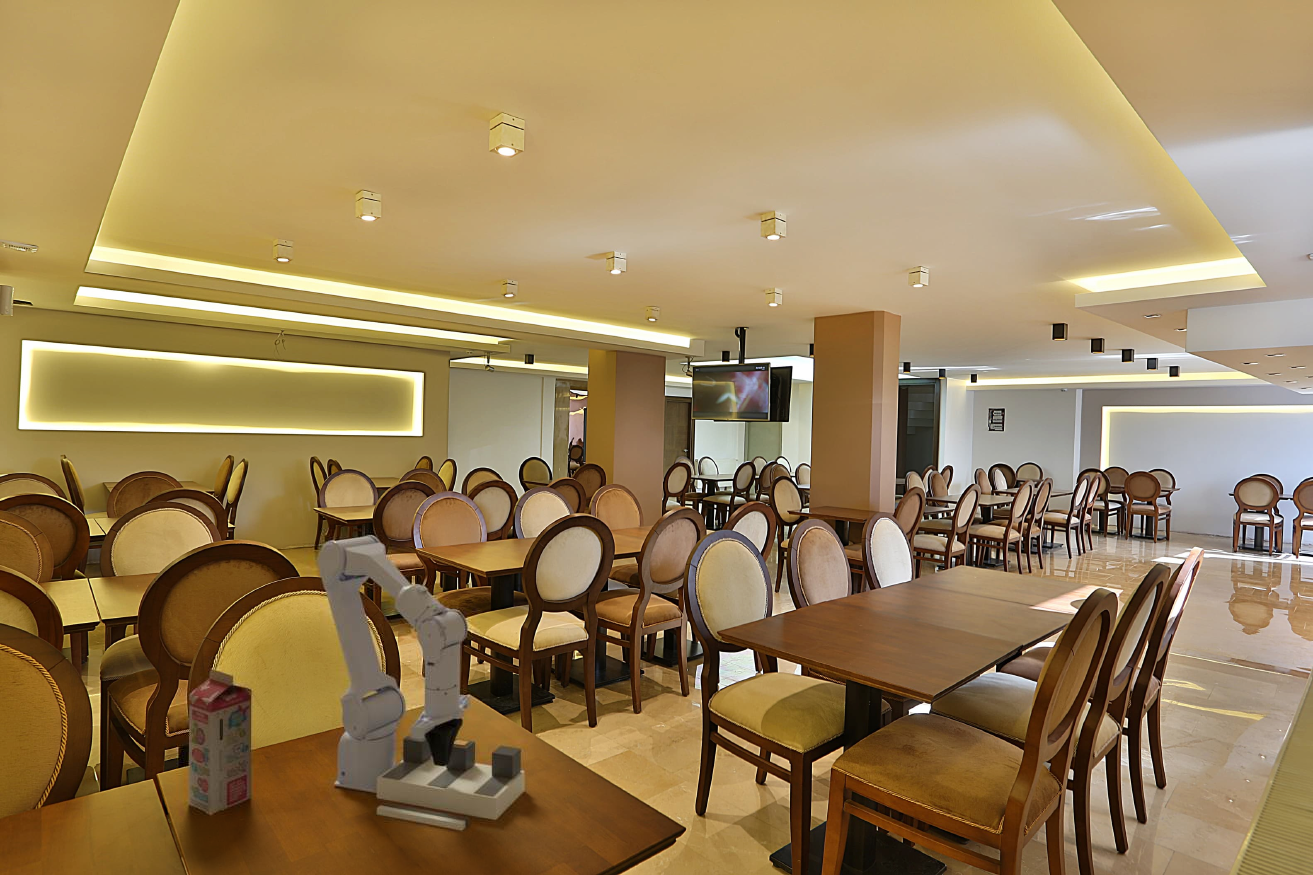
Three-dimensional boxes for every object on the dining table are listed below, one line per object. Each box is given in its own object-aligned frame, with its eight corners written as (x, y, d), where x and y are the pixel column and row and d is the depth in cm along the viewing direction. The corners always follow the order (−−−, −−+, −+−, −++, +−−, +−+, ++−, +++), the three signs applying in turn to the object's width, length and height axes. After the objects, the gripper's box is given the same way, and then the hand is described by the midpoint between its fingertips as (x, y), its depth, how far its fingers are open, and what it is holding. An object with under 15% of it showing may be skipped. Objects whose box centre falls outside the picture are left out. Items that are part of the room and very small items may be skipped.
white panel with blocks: (376, 797, 123) (377, 753, 123) (412, 771, 132) (412, 730, 132) (495, 819, 116) (496, 773, 116) (524, 790, 125) (524, 747, 125)
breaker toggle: (445, 767, 126) (446, 744, 126) (455, 760, 129) (455, 737, 129) (465, 771, 125) (466, 747, 125) (474, 763, 128) (475, 740, 128)
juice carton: (228, 787, 126) (229, 663, 126) (250, 797, 122) (251, 669, 122) (188, 804, 120) (189, 674, 120) (210, 815, 117) (211, 681, 116)
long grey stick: (376, 814, 117) (376, 807, 117) (384, 808, 119) (384, 802, 119) (462, 830, 113) (462, 824, 113) (468, 824, 115) (468, 817, 115)
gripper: (437, 702, 113) (436, 787, 113) (485, 673, 127) (484, 749, 127) (400, 697, 115) (399, 780, 115) (450, 668, 129) (449, 743, 129)
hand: (441, 763), depth 121 cm, fingers closed
